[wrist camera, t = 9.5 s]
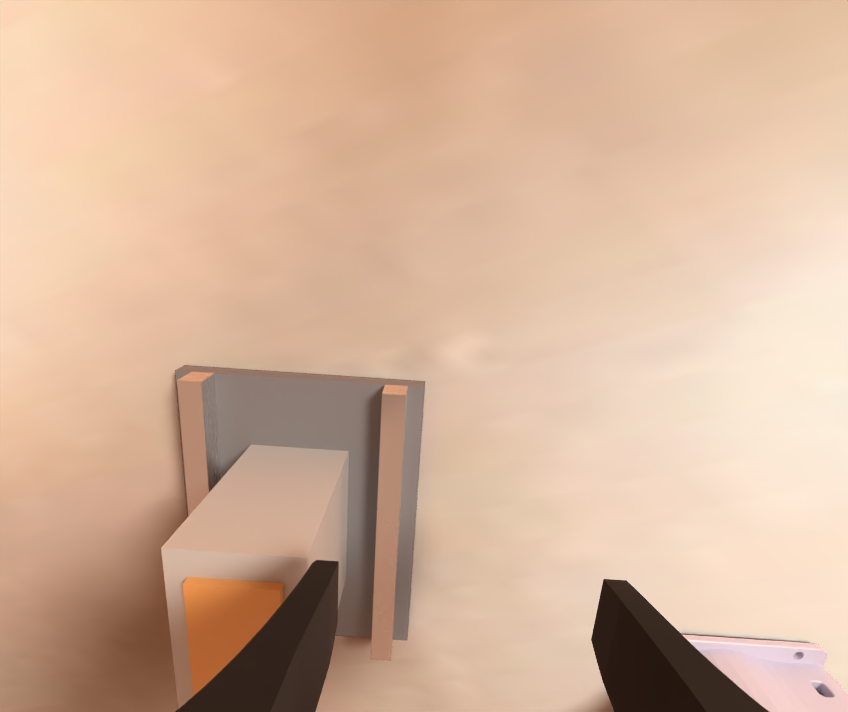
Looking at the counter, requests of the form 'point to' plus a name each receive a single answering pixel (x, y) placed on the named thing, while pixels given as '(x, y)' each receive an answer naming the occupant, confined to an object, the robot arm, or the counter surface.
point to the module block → (250, 553)
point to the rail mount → (331, 430)
